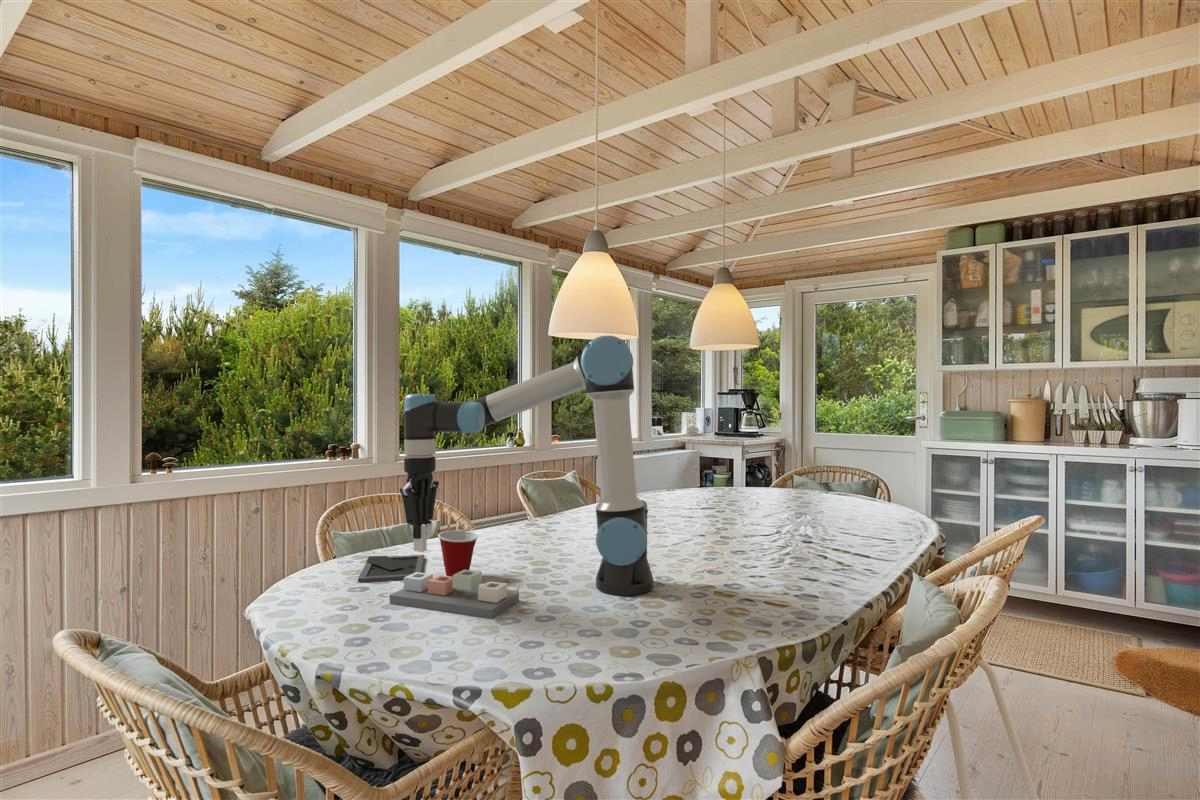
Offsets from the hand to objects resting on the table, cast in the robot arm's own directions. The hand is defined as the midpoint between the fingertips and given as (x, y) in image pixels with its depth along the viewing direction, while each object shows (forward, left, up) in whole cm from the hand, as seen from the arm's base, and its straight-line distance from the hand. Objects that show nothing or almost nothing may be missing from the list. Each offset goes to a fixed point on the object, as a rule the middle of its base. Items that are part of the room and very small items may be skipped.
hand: (420, 550), depth 153 cm
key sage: (-14, 0, -7) cm, 16 cm away
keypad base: (-10, 0, -11) cm, 15 cm away
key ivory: (-21, 0, -9) cm, 23 cm away
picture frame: (+21, -16, -12) cm, 29 cm away
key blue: (0, 0, -9) cm, 9 cm away
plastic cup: (0, -17, -12) cm, 20 cm away
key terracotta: (-7, 0, -9) cm, 11 cm away
